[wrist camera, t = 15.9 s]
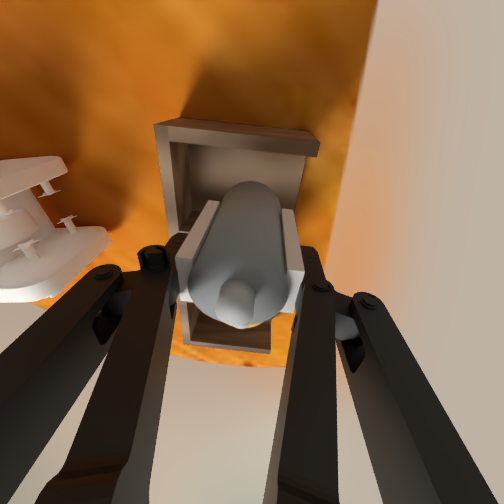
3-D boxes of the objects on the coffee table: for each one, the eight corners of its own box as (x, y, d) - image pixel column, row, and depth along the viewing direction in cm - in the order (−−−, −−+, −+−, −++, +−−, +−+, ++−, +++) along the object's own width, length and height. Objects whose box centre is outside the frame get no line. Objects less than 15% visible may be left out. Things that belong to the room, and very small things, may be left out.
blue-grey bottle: (221, 233, 19) (184, 340, 11) (221, 178, 17) (172, 263, 8) (276, 238, 19) (281, 350, 11) (284, 184, 17) (301, 275, 8)
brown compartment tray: (179, 117, 21) (153, 124, 16) (309, 131, 21) (320, 142, 16) (194, 312, 37) (183, 344, 32) (269, 320, 37) (269, 354, 32)
